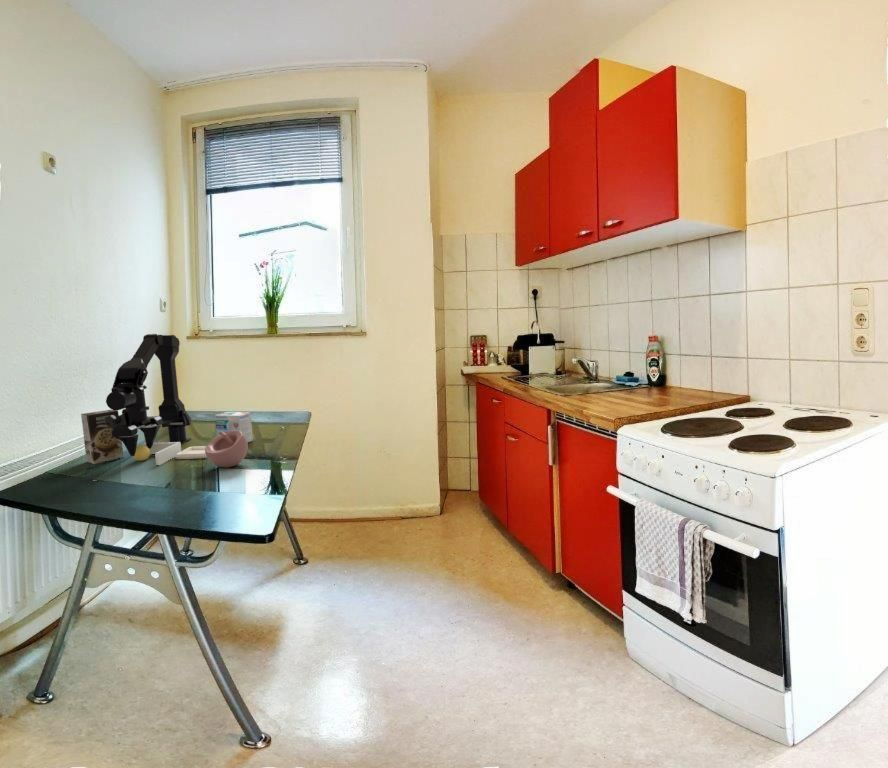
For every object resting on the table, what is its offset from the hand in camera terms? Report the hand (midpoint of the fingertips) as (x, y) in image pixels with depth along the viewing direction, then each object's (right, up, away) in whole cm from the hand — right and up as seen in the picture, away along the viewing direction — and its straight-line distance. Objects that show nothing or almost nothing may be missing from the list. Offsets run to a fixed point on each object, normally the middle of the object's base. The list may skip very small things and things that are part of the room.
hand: (141, 452), depth 169 cm
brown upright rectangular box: (-14, -3, +4) cm, 15 cm away
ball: (0, -3, 0) cm, 3 cm away
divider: (+3, -3, 0) cm, 4 cm away
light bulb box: (+22, +1, +21) cm, 31 cm away
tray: (+16, -1, +5) cm, 17 cm away
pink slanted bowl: (+33, -3, -11) cm, 35 cm away
